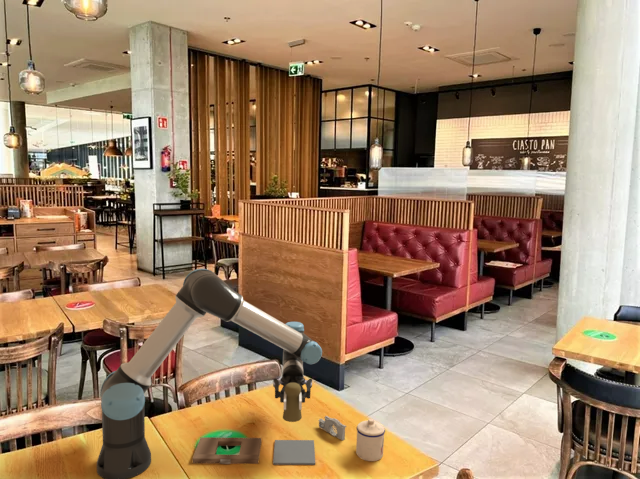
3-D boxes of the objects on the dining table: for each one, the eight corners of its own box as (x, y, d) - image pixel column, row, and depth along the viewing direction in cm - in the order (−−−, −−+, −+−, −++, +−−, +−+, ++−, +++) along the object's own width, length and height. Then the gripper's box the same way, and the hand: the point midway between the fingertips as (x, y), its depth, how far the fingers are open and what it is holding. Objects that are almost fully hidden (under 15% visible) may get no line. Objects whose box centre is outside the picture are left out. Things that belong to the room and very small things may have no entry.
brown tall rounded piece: (299, 423, 149) (300, 389, 148) (280, 420, 150) (281, 387, 149) (303, 413, 155) (304, 381, 153) (285, 411, 156) (286, 379, 155)
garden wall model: (317, 427, 170) (318, 411, 169) (321, 425, 171) (322, 410, 170) (342, 441, 161) (343, 425, 161) (346, 439, 162) (346, 423, 162)
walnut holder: (192, 464, 145) (192, 459, 145) (200, 441, 158) (200, 437, 158) (258, 464, 146) (258, 459, 146) (261, 442, 159) (261, 437, 159)
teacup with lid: (387, 461, 151) (389, 426, 149) (359, 463, 149) (361, 428, 148) (376, 440, 162) (377, 408, 161) (350, 442, 161) (351, 409, 159)
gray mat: (272, 464, 147) (273, 462, 147) (274, 441, 160) (275, 439, 160) (315, 464, 147) (315, 463, 147) (313, 441, 160) (313, 440, 160)
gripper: (316, 384, 170) (320, 417, 147) (268, 384, 169) (264, 417, 146) (317, 364, 169) (321, 394, 146) (268, 364, 168) (264, 393, 145)
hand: (292, 405), depth 146 cm, fingers closed on brown tall rounded piece, 4 cm apart
